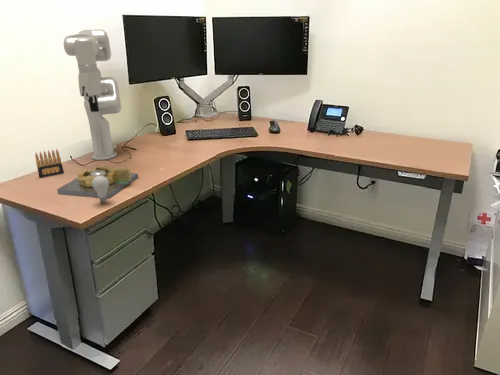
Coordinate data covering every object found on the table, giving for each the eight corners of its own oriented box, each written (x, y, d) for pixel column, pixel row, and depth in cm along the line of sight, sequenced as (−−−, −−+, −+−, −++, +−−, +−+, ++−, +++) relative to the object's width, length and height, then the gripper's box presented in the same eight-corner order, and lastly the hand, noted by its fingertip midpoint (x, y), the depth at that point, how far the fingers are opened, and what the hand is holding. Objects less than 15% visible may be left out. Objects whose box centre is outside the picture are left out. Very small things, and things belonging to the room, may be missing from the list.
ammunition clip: (39, 178, 193) (33, 153, 189) (38, 177, 195) (33, 152, 190) (64, 173, 198) (59, 149, 194) (63, 172, 200) (58, 148, 195)
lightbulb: (113, 199, 169) (109, 173, 165) (109, 205, 163) (105, 178, 159) (98, 199, 169) (93, 173, 164) (93, 205, 163) (88, 179, 159)
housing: (91, 174, 197) (89, 161, 194) (140, 177, 191) (138, 165, 188) (58, 193, 175) (55, 180, 173) (111, 198, 169) (109, 184, 167)
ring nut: (135, 173, 189) (133, 163, 187) (125, 186, 175) (123, 175, 173) (88, 174, 190) (86, 163, 188) (74, 187, 175) (72, 176, 173)
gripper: (90, 66, 188) (97, 107, 195) (69, 70, 174) (77, 114, 181) (105, 66, 186) (111, 108, 193) (85, 71, 173) (92, 115, 180)
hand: (94, 111), depth 187 cm, fingers closed
